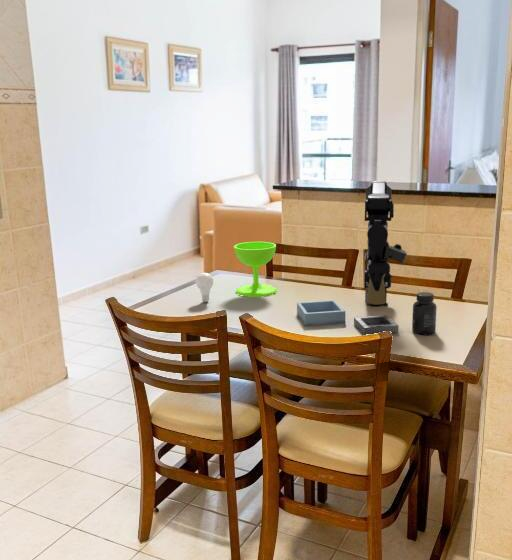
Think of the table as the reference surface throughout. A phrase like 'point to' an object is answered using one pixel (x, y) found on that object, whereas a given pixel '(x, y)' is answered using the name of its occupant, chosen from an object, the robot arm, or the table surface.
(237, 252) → the wineglass
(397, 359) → the table surface
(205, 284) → the lightbulb
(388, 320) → the metal collar
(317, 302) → the plastic tray
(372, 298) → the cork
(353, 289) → the table surface
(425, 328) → the supplement bottle
